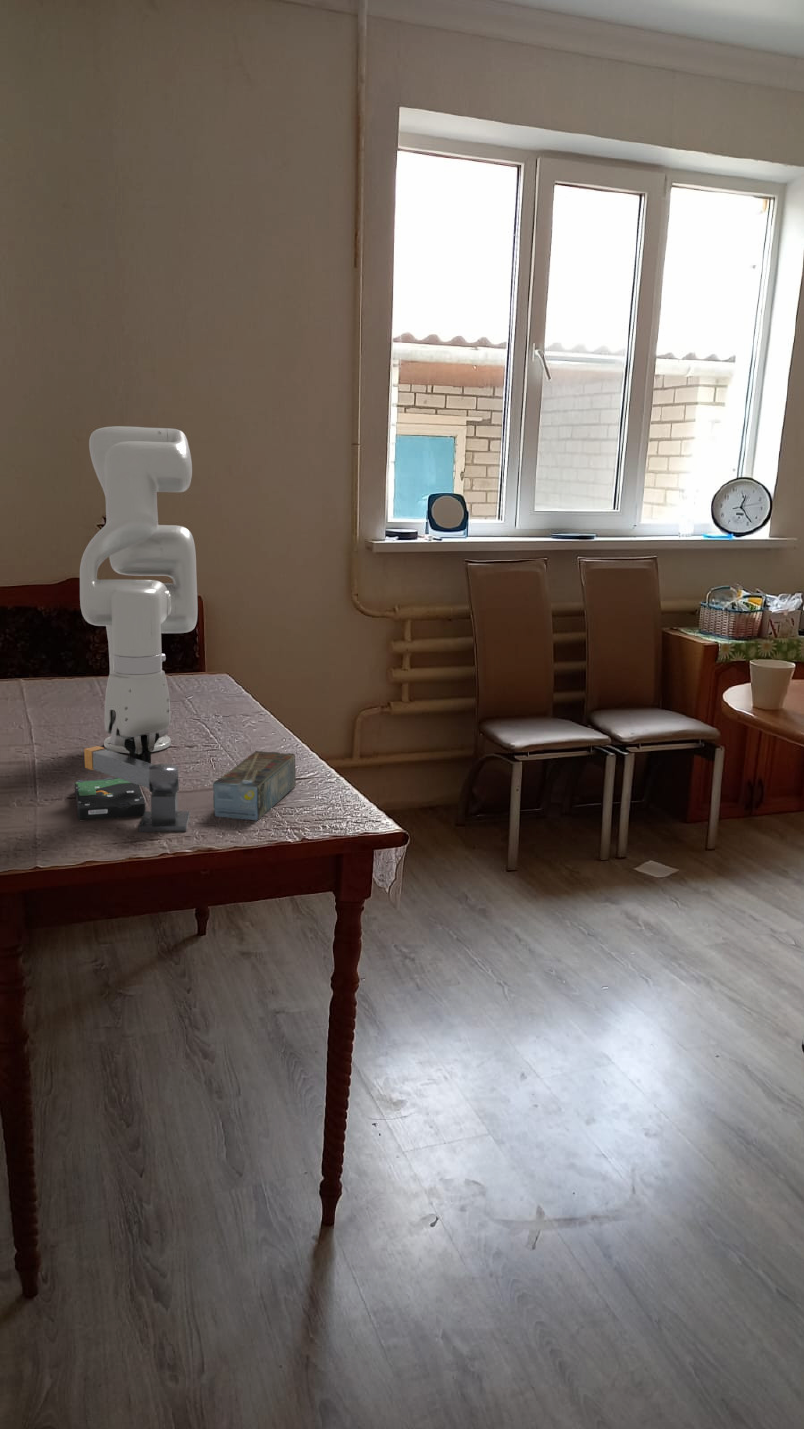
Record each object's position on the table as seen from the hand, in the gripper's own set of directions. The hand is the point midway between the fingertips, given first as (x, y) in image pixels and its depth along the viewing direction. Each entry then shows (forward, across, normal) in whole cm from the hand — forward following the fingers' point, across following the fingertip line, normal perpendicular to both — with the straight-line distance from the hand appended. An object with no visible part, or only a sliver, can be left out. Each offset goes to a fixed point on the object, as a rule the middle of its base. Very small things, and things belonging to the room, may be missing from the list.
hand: (140, 774), depth 171 cm
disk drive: (+5, +4, -3) cm, 7 cm away
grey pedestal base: (+5, +4, +11) cm, 13 cm away
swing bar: (-1, +4, +3) cm, 5 cm away
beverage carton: (+5, -14, +13) cm, 19 cm away
